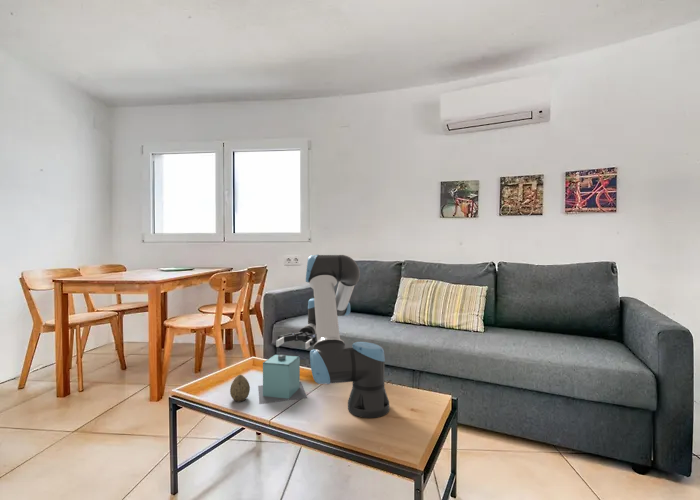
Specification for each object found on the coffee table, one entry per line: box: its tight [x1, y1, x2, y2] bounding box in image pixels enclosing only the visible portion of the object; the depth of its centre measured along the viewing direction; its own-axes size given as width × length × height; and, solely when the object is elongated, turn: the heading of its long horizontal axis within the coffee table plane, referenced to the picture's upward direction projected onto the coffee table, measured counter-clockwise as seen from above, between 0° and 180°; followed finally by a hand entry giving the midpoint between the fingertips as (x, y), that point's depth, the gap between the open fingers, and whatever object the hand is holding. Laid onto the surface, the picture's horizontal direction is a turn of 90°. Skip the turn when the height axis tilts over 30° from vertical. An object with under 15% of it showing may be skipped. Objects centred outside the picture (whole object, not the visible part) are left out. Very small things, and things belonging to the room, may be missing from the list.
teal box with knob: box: [262, 354, 301, 399], centre depth 138 cm, size 11×11×14 cm
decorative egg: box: [229, 374, 251, 402], centre depth 130 cm, size 7×7×10 cm
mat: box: [257, 381, 308, 405], centre depth 138 cm, size 18×18×1 cm
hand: (291, 344), depth 148 cm, fingers open, 13 cm apart
